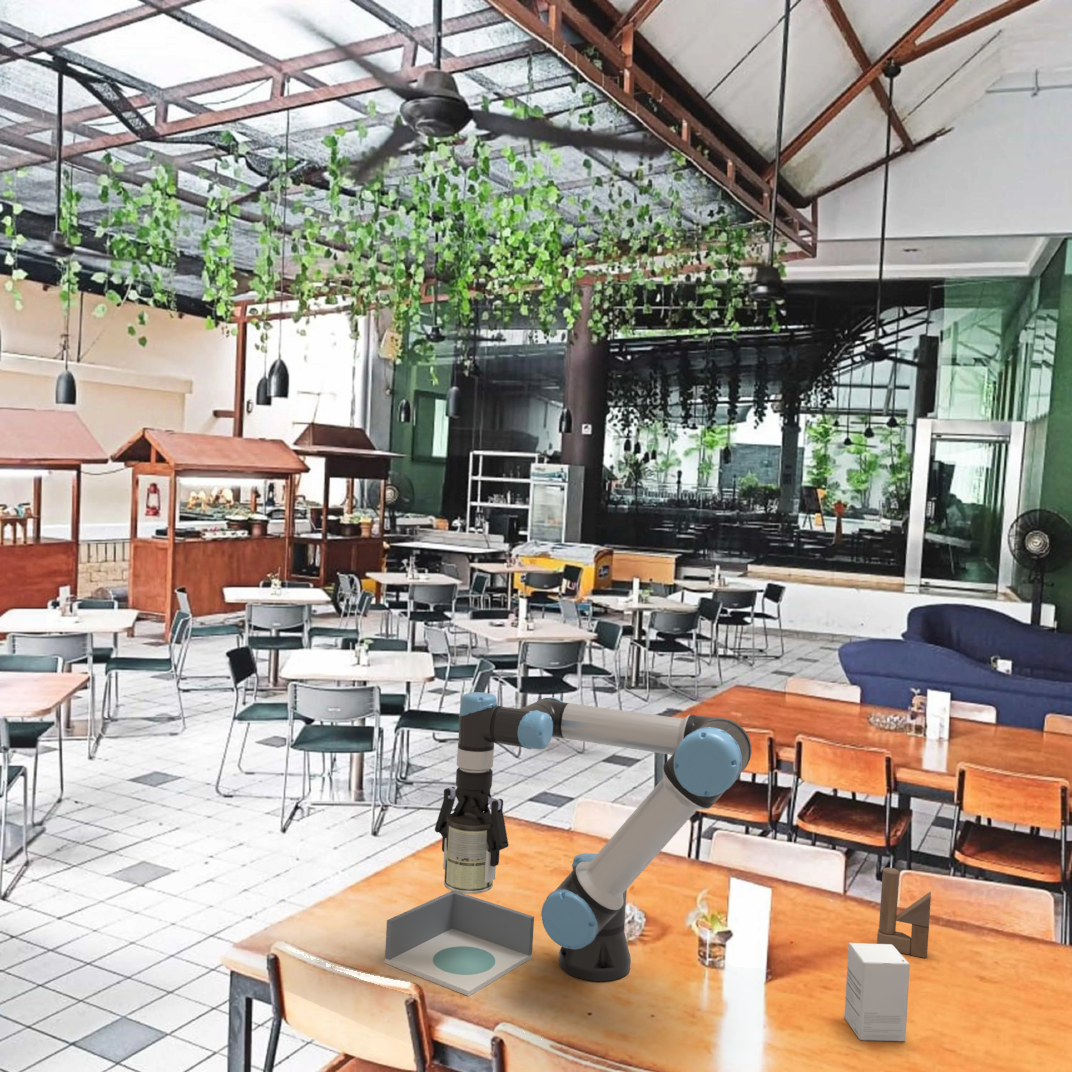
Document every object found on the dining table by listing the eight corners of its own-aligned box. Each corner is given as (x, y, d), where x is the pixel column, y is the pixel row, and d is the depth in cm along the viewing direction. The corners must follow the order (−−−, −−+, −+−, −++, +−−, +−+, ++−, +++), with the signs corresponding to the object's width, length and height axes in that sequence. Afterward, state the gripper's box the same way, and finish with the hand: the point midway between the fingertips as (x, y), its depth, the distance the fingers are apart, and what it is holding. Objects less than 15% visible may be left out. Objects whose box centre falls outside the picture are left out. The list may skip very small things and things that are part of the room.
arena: (531, 958, 217) (534, 916, 216) (468, 996, 198) (471, 950, 198) (451, 929, 229) (453, 890, 229) (384, 963, 210) (387, 920, 210)
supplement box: (888, 1018, 199) (893, 943, 199) (906, 1042, 190) (911, 963, 190) (842, 1016, 199) (847, 941, 198) (858, 1040, 190) (863, 961, 189)
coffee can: (436, 878, 214) (440, 812, 213) (481, 873, 218) (485, 808, 218) (453, 896, 204) (457, 827, 204) (500, 891, 209) (504, 823, 208)
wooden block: (926, 959, 227) (932, 879, 227) (876, 948, 231) (881, 870, 231) (927, 952, 231) (932, 874, 230) (877, 942, 235) (882, 865, 234)
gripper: (530, 775, 207) (523, 882, 208) (443, 755, 220) (438, 856, 220) (508, 782, 201) (502, 893, 202) (421, 761, 214) (415, 865, 214)
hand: (468, 874), depth 211 cm, fingers closed on coffee can, 10 cm apart
